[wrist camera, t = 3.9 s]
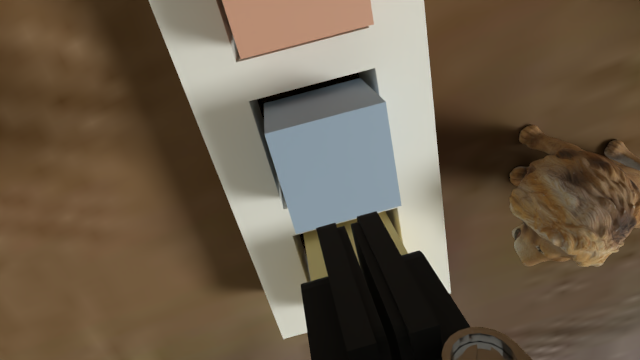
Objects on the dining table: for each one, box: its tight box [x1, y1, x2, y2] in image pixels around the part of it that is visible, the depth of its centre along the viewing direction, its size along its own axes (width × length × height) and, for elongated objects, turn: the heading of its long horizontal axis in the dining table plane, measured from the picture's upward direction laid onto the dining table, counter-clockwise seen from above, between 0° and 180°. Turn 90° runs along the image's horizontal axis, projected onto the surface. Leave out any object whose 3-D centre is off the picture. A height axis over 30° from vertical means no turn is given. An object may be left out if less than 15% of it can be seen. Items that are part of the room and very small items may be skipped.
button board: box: [149, 0, 451, 339], centre depth 19 cm, size 22×10×4 cm, turn 13°
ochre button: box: [303, 211, 408, 281], centre depth 20 cm, size 4×4×4 cm
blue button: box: [264, 78, 402, 234], centre depth 16 cm, size 4×4×4 cm
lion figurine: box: [509, 125, 640, 267], centre depth 20 cm, size 15×5×9 cm, turn 84°
